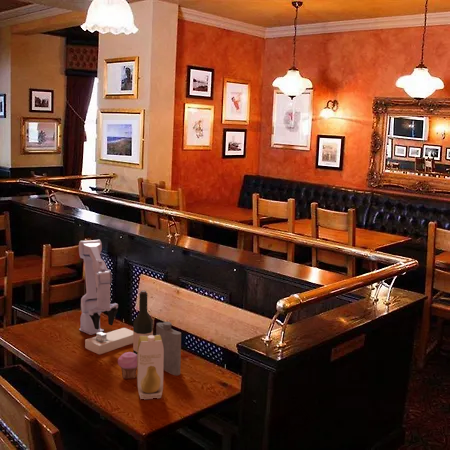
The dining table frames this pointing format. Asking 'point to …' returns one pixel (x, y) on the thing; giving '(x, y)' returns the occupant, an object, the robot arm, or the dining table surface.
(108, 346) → the pale beige flat-sided block
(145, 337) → the juice carton
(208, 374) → the dining table surface
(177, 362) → the hip flask
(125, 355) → the cupcake
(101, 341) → the pinkish white rectangular block
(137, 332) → the wine bottle
